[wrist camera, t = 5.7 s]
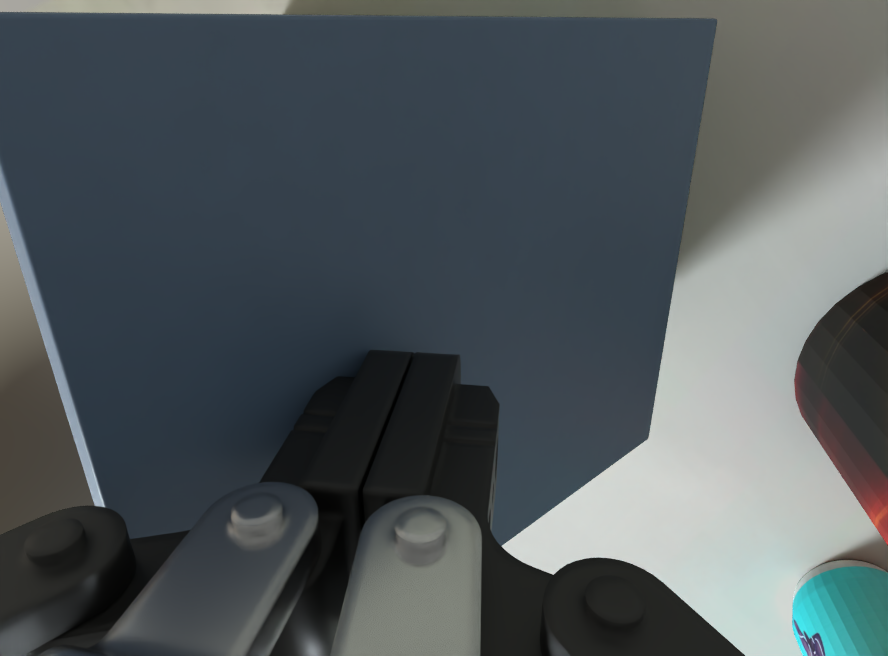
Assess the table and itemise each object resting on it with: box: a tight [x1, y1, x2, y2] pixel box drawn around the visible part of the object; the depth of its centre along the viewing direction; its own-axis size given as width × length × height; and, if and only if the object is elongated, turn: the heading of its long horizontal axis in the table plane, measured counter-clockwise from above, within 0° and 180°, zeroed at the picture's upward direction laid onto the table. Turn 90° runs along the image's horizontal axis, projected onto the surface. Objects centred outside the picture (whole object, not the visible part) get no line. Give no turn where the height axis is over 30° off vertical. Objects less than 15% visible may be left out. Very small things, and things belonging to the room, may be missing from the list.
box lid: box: [0, 12, 717, 546], centre depth 13 cm, size 14×12×1 cm
